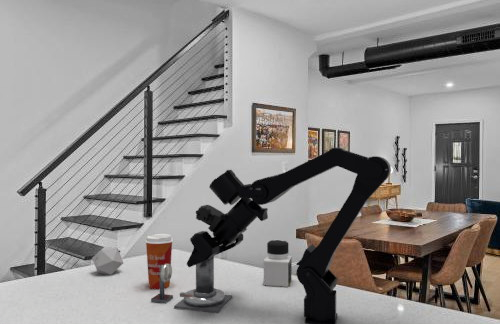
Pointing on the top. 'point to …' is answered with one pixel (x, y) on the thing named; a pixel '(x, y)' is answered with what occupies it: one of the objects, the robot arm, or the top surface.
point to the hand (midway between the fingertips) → (197, 261)
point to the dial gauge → (164, 277)
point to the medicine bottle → (277, 264)
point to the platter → (195, 301)
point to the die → (107, 260)
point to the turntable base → (204, 308)
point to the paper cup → (158, 257)
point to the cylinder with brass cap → (205, 279)
